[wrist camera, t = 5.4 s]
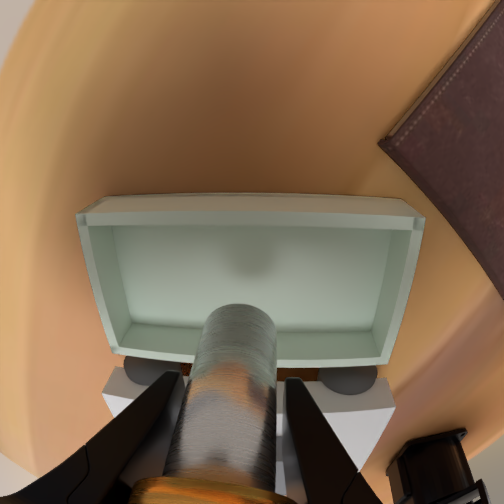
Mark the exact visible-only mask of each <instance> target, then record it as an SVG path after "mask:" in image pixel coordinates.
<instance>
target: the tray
mask: <svg viewBox="0 0 504 504" xmlns="http://www.w3.org/2000/svg"><path fill="white" fill-rule="evenodd" d="M75 215H76V221H77V226H78V231H79V236H80V241H81V246H82V250H83V255H84V259H85V263H86V267H87V271H88V275H89V279H90V283H91V287H92V290H93V294H94V297H95V301H96V304H97V308H98V311H99V314H100V318H101V321H102V324H103V327H104V330H105V333H106V336H107V339H108V342H109V345H110V348H111V351H112V353H114V354H121V355H127V356H134V357H142V358H149V359H158V360H166V361H176V362H186V363H193V362H194V358H195V355H196V351H197V348H198V345H199V341H200V338H201V334H202V331H203V328H204V324H205V321H206V319H207V317H208V316H209V315H210V314H211V313H212V312H213V311H214V310H216V309H217V308H219V307H221V306H224V305H228V304H238V303H239V304H247V305H251V306H254V307H257V308H259V309H261V310H262V311H264V312H265V313H266V314H268V315H269V316H270V318H271V319H272V320H273V322H274V324H275V326H276V330H277V368H321V367H351V366H369V365H383V364H388V361H389V359H390V356H391V353H392V350H393V347H394V344H395V341H396V338H397V335H398V332H399V328H400V325H401V322H402V318H403V315H404V312H405V308H406V305H407V301H408V297H409V293H410V290H411V286H412V282H413V278H414V274H415V269H416V265H417V261H418V256H419V251H420V246H421V241H422V236H423V231H424V226H425V220H426V218H425V217H424V216H423V215H422V214H420V213H419V212H418V211H416V210H415V209H414V208H413V207H411V206H410V205H409V204H407V203H406V202H405V201H403V200H402V199H396V198H382V197H367V196H349V195H327V194H298V193H170V194H142V195H120V196H104V197H103V198H101V199H99V200H97V201H96V202H94V203H92V204H91V205H89V206H87V207H86V208H84V209H82V210H81V211H79V212H78V213H76V214H75Z"/></svg>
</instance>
